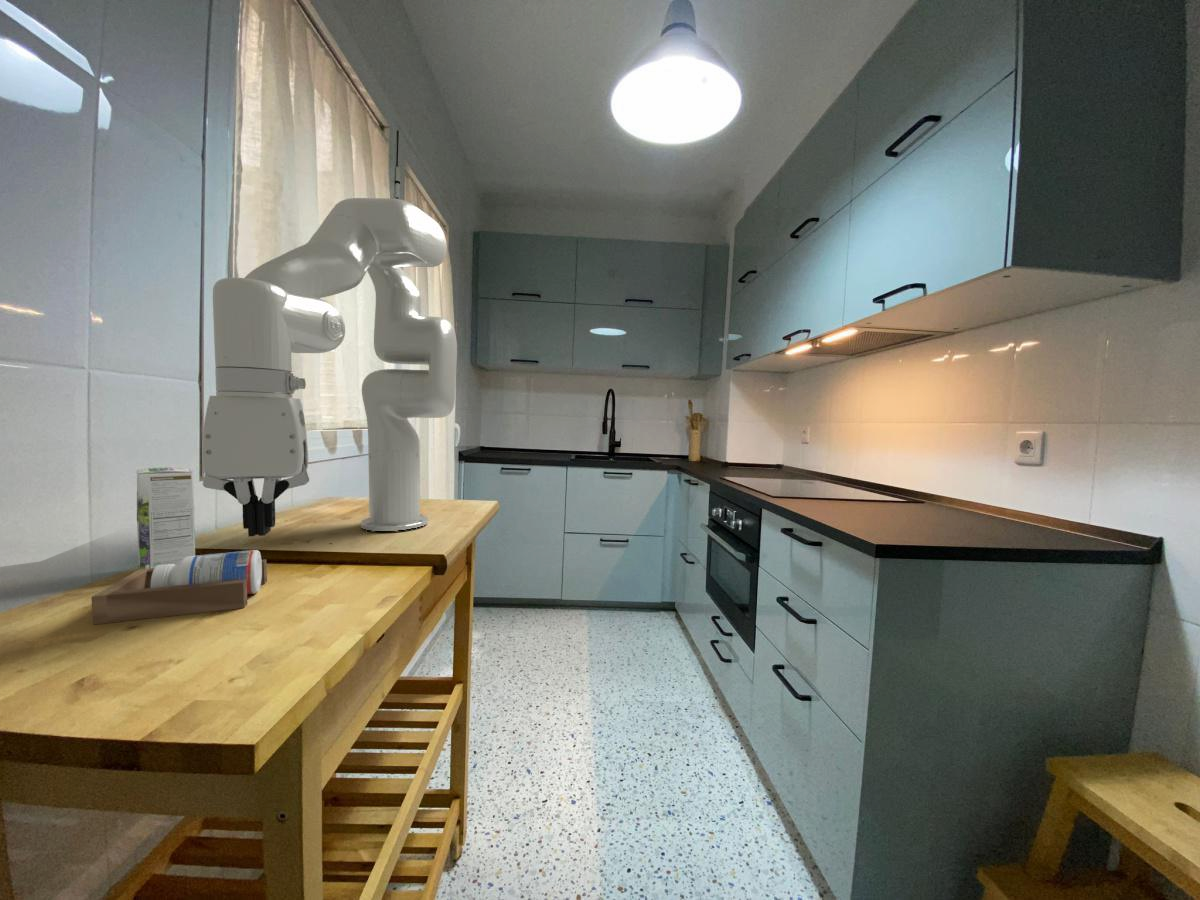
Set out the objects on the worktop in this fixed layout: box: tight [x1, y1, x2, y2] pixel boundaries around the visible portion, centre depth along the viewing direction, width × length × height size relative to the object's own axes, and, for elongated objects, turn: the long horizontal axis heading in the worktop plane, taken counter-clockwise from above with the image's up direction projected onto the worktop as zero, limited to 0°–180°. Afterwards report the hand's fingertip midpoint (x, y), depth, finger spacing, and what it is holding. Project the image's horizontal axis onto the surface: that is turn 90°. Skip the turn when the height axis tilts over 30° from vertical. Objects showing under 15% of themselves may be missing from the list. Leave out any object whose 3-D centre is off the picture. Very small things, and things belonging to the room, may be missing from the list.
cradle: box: [90, 558, 268, 625], centre depth 56 cm, size 9×13×3 cm
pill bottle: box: [151, 549, 262, 595], centre depth 57 cm, size 6×5×10 cm
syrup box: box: [136, 466, 196, 570], centre depth 66 cm, size 6×6×14 cm
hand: (259, 533), depth 58 cm, fingers closed
